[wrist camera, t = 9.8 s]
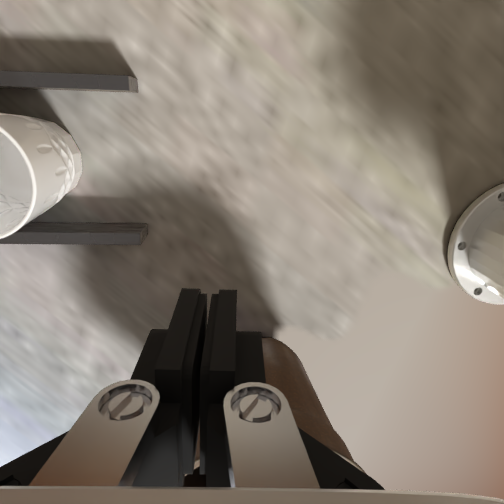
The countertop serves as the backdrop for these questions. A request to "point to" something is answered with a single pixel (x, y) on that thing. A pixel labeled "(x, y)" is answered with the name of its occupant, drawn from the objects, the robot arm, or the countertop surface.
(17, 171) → the white cup
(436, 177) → the countertop surface
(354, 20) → the countertop surface
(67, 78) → the bracket
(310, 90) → the countertop surface
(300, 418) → the plant pot
